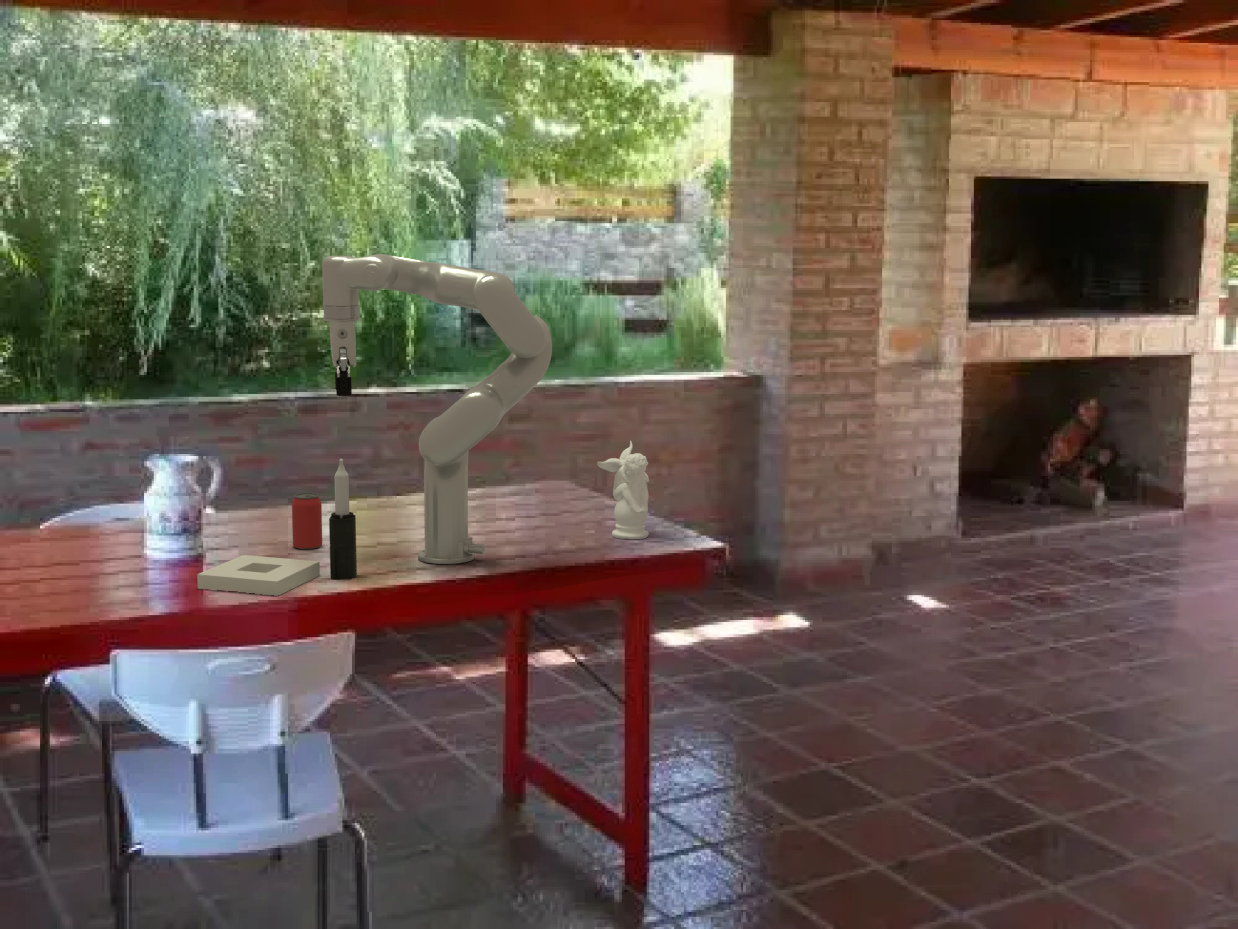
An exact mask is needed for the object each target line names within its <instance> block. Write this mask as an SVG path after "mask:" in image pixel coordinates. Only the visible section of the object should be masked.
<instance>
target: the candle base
mask: <svg viewBox="0 0 1238 929" xmlns="http://www.w3.org/2000/svg"><path fill="white" fill-rule="evenodd" d="M320 564H321V563H320V561H316V560H308V559H293V558H281V557H272V556H262V555H261V556H259V555H250V554H249V555H248V554H247V555H246V554H241V555H240V556H238V557H235V558H233V559H231V560H228V561H226V562H223V563H221V564H219V565H216V566H214V567H211V568H208V569H206V570H205V571H202V572H200V573H197V574H196V576H197V577H196V578H197V589H198V590H206V589H216V590H215V591H217V590H233V591H240V592H246V593H245V594H249V593H255V594H254V595H260V594H262V596H263V595H264V596H271V595H274V596H273V597H278V595H279V596H281V595H283V594H285V593H287V592H289V591H291V590H293V589H294V588H297V587H299V586H301V585H303V584H306V583H308V582H309V581H311V580H313V579H315V578H318V577H320V575H321V574H320V573H321V570H320V567H321V566H320Z"/></svg>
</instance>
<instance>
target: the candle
mask: <svg viewBox="0 0 1238 929" xmlns="http://www.w3.org/2000/svg"><path fill="white" fill-rule="evenodd" d="M349 478H350V475H349V473H348V472H347V471H346V468H345V465H344V459H343V458H340V459H339V463H338V466H337V470H336V472H335V474H334V508H335V509H334V510H335V511H334V512H332V513H331V515H330V517H329V518H328V526H329V528H328V531H329V566H330V567H329V570H330V572H329V574H330V575H329V576H330V579H331V580H353V579H352V578H354V579H355V578H356V577H357V573H358V572H357V571H358V570H357V569H358V568H357V527H356V526H357V520H356V516H357V515H355V514H354V512H352V511H350V480H349Z"/></svg>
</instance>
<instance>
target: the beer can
mask: <svg viewBox="0 0 1238 929" xmlns="http://www.w3.org/2000/svg"><path fill="white" fill-rule="evenodd" d="M322 510H323V509H322V501H321V499H320V495H319V493H317V492H315V493H314V492H301V493H300V492H299V493H296V494H294V495H293V500H292V504H291V517H292V518H291V523H292V526H291V527H292V546H293V548H295V549H297V548H298V550H303V549H309V550H315V548H316V549H319V548H320V547H322V546H323V518H322V517H323V514H322V512H323V511H322Z"/></svg>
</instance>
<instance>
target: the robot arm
mask: <svg viewBox="0 0 1238 929" xmlns="http://www.w3.org/2000/svg"><path fill="white" fill-rule="evenodd" d="M321 264H322V270H321V271H322V296H323V297H322V299H323V300H322V301H323V302H322V303H323V306H322V307H323V321H324V322H329V341H330V352H331V360H332V364H333V367H334V368H335V372H334V376H335V377H334V378H335V379H334V380H335V382H334V384H335V392H336V396H337V397H350V396H352V395H353V394H352V392H353V391H352V377H351V366H352V367H353V368H356V367H357V349H356V348H357V342H356V340H357V339H356V337H357V336H356V326H355V325H356V324H355V322H359V321H360V303H359V302H360V300H359V298H360V297H359V296H360V295H359V294H360V293H359V290H363V291H368V292H376V291H377V292H378V291H382V290H389V291H390V290H391V291H396V292H401V293H408V294H413V295H416V296H420V297H423V298H425V299H426V300H429V301H431V302H432V303H437V304H441V305H445V306H446V305H448V306H453V307H459V308H467V309H471V310H475V311H476V310H478V311H479V313H480V315H481V316H482V317H483V318H484V320H485V322H487V324H489V326H490V327H491V328H492V330H493V331H494V332H495V333H496V335H497V336H498V338H499V339H500V340H501V341H502V342H503V343H504V345H505V346H506V348H507V349H508V350H509V351H510V355H509V356H508V357H507V359H506V360H504V361H503V362H502V363H501V364H500V365H498V366H497V368H496V369H495V370H493V371H492V372H491V373H490V374H489V375H487V376H486V377H485V378H484V379H483V380H481V381H480V382H479V383H478V384H476V385H475V386H473V387H471V388H470V389H468V390H467V391H466V392H465V393H464V394H463V395H462V396H461V397H459V399H458V400H457V401H456V402H454V404H452V405H451V406H449V408H447V409H446V410H445V411H444V412H442V413H441V415H439V416H436V417H434V419H432V420H431V421H429V422H428V423H427V424H426V426H425V427H424V429H423V430H422V432H421V433H420V435H419V438H418V450H419V453H420V455H421V457H422V458H423V460H424V464H423V465H424V467H423V473H424V474H423V479H424V480H423V483H424V484H423V485H424V486H423V487H424V488H423V491H424V492H423V493H424V494H423V496H424V497H423V499H424V500H423V506H424V510H423V512H424V519H423V520H424V549H422V550H420V551H419V552H418V553H417V559H418V560H419V561H421V562H424V563H427V564H435V565H437V564H438V565H454V564H455V565H456V564H462V563H467V562H471V561H473V560H474V559H475V558H476V555H477V554H478V555H484V554H485V552H486V546H485V544H483V543H475V542H473V536H469V496H468V495H469V451H470V450H471V449H473V447H475V446H476V445H477V444H478V443H480V442H481V441H482V440H483V439H485V437H486V436H488V435H489V434H490V433H491V432H492V431H494V430H495V428H496V427H497V426H498V425H499V423H500V422H501V420H502V418H503V417H504V416H505V415H506V414H507V413H508V412H509V411H510V410H511V409H512V408H513V407H514V406H515V405H516V404H518V403H519V402H520V401H521V400H522V399H523V398H524V397H525V396H527V394H529V392H531V391H532V390H533V389H534V388H535V387H536V386H537V385H538V384H539V383H540V382H541V380H542V378H544V376H545V374H546V373H547V370H548V369H549V366H550V364H551V359H552V355H553V342H552V335H551V332H550V328H549V326H548V324H547V323H546V322H545V321H544V320H543V319H542V318H541V317H539V316H538V315H535V314H534V315H533V314H532V313H531V311H530V310H529V309H528V307H527V306H526V305H525V304H524V303H523V301H522V300H521V299H520V297H519V296H518V295H517V293H516V289H515V288H516V287H515V284H514V283H513V281H512V279H511V278H510V277H508V276H507V275H505V274H502V273H500V272H494V271H489V270H482V269H477V268H473V267H471V268H470V267H465V266H459V265H452V264H448V263H441V262H435V261H434V262H431V261H426V260H419V259H414V258H409V257H403V256H397V255H390V254H385V253H377V254H376V253H375V254H373V255H367V256H357V257H354V256H352V255H328V256H326V257H324V258H323V260H322V263H321Z"/></svg>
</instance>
